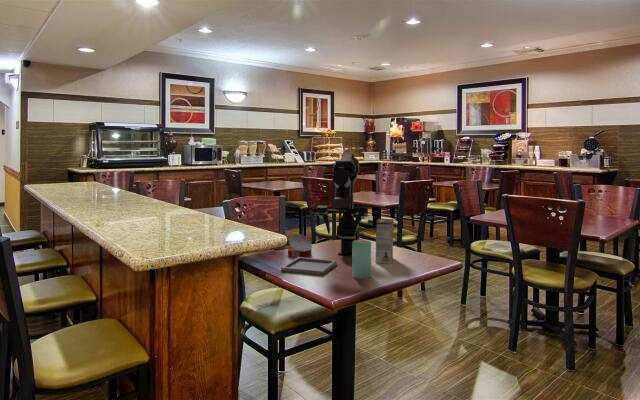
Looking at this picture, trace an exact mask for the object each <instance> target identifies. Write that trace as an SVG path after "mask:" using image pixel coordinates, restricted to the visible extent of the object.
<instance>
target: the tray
mask: <svg viewBox="0 0 640 400" xmlns="http://www.w3.org/2000/svg"><path fill="white" fill-rule="evenodd" d="M337 262H338V261H337V260H336V259H335V260H334V259H325V258H314V257H313V258H312V257H307V258H303V257H297V258H293V259H292V260H291V261H289V262H288V263H286V264H284V265H282V266H281V267H280V272H282V273H291V274H300V275H310V276H321V277H323V276H325V274H327V273H328V272H329V271H331V269H333V268H334V267H335V266H337Z"/></svg>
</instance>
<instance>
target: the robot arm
mask: <svg viewBox="0 0 640 400" xmlns="http://www.w3.org/2000/svg"><path fill="white" fill-rule="evenodd" d="M331 172H332V173H331V174H332V180H333V184H334V186H335V190H334V198H333V208H330V207H328V205H317V206H316V208H315V213H316V215H317V216H319V217H320V218H321V219H323V222H324V224H325V227H326V232H327V234H328V235H330V232H331V228H330V227H331V226H330V216H329V214H340V215H341V214H342V216H341V217H340V218H339V220H338V225H336V239H337V241H340V251H339V252H337V255H342V256H352V242H354V241H360V229H359V225H360V223H361V222H362V220H364V219H366V218H367V217H368V218H369V208H368V206H363V205H362V206H361V205H360V206H359V205H357V206H356V208H354V184H355V182H356V181H357V179H358V174H359V173H360V160H359V159H357V158H356V157H355V153H353V152H352V153H351V152H343V153H342V154H341V158H340V159H336V160H335V162H333V166H332V171H331ZM353 215H355V218H354V216H353ZM365 217H366V218H365Z"/></svg>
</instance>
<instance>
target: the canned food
mask: <svg viewBox="0 0 640 400" xmlns="http://www.w3.org/2000/svg"><path fill="white" fill-rule="evenodd" d="M288 243H289V245H290V247H288V248H287V257H288V258H290V259H292V258H293V259H296V258H297V257H303V258H311V256H312V248H313V245H312V243H311V242H310V241H309V239H308V238H307V237H306V236H305V235H303V234H300V233H296V234H293V235H291V236H290V237H289V239H288Z"/></svg>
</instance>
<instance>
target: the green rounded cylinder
mask: <svg viewBox="0 0 640 400" xmlns="http://www.w3.org/2000/svg"><path fill="white" fill-rule="evenodd" d="M351 257H352V258H351V259H352V260H351V261H352V263H351V265H352V266H351V270H352V271H351V273H352V274H351V277H352V278H353V279H358V280H365V279H370V278H371V274H372V273H371V272H372V271H371V270H372V269H371V268H372V267H371V265H372V264H371V263H372V261H371V260H372V243H371V241H368V240H354V242H352V255H351Z"/></svg>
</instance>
